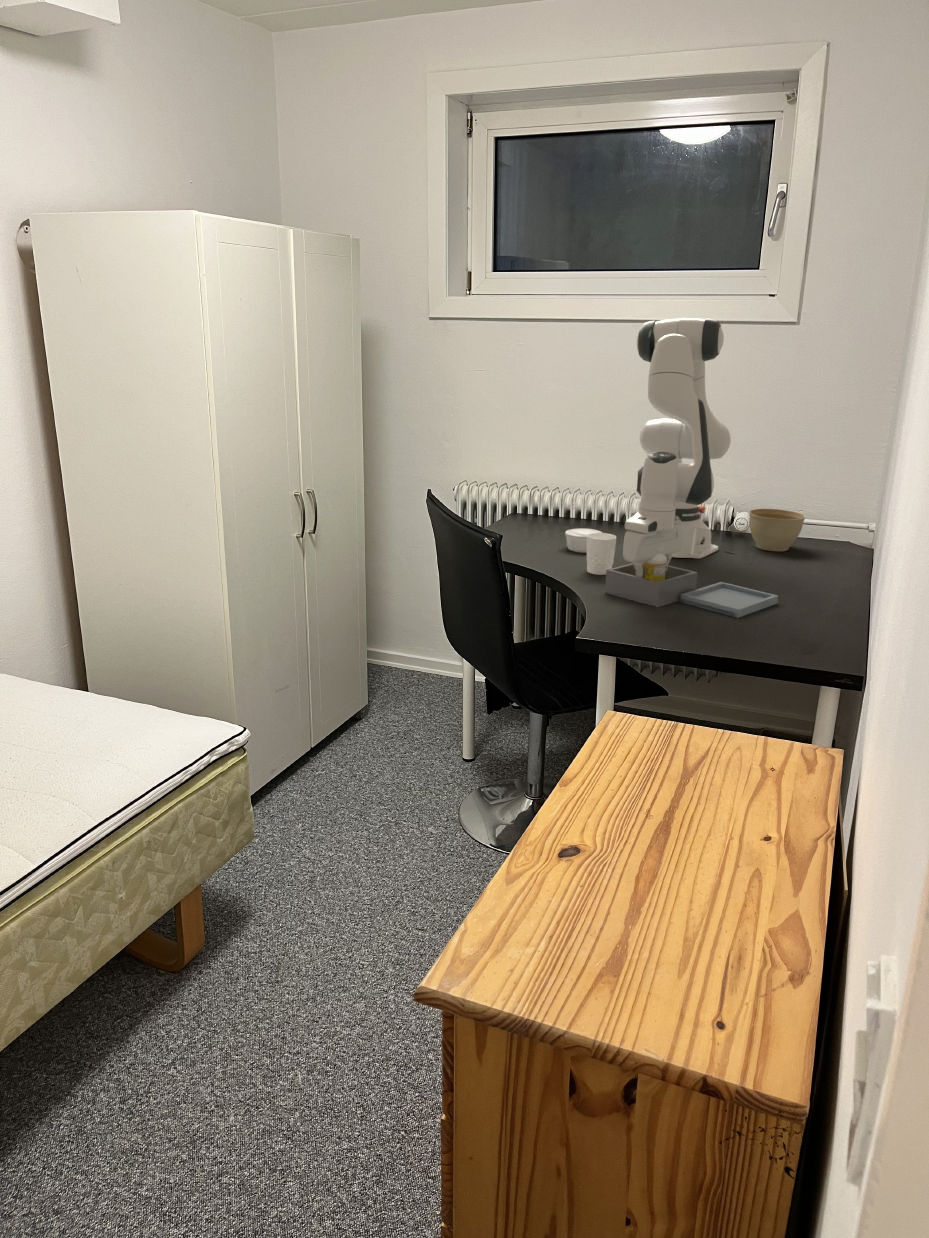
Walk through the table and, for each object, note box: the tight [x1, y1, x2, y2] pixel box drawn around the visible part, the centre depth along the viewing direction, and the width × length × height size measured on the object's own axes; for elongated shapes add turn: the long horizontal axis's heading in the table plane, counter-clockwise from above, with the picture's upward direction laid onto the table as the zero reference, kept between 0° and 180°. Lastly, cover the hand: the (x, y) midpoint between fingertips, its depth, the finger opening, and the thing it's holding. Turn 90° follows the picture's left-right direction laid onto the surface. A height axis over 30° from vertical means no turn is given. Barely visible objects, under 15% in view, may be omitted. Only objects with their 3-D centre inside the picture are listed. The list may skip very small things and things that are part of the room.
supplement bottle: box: [642, 545, 667, 582], centre depth 227 cm, size 7×7×13 cm
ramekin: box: [564, 527, 603, 554], centre depth 273 cm, size 11×11×5 cm
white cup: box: [586, 532, 617, 576], centre depth 247 cm, size 8×8×10 cm
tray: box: [679, 581, 779, 619], centre depth 223 cm, size 18×16×2 cm
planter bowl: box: [748, 508, 806, 552], centre depth 278 cm, size 16×16×11 cm
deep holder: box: [604, 562, 698, 608], centre depth 228 cm, size 16×16×6 cm
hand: (651, 574), depth 227 cm, fingers open, 8 cm apart
